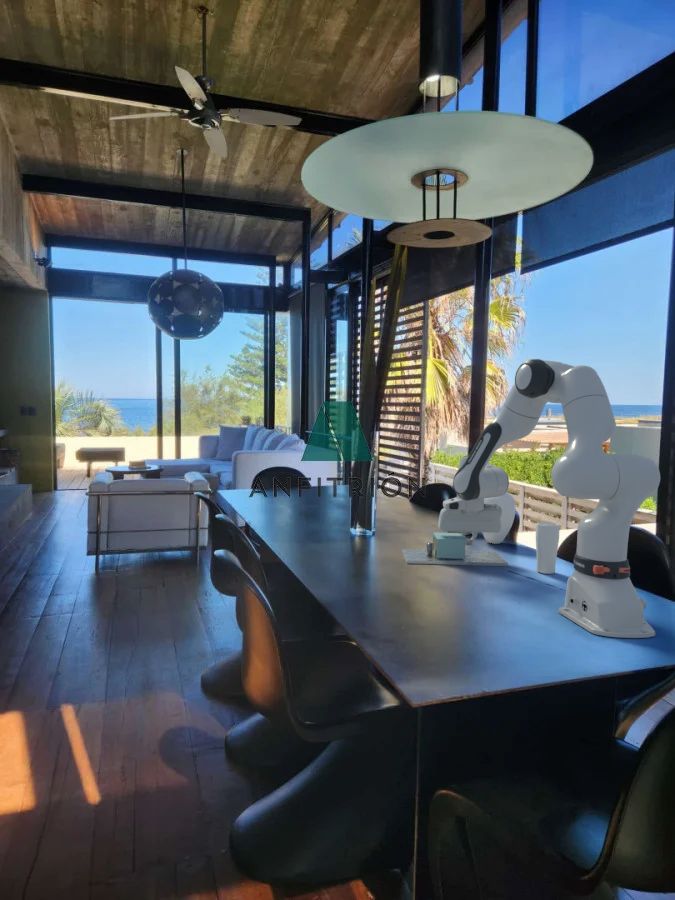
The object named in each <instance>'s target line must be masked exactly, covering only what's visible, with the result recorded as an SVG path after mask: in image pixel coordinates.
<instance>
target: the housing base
mask: <svg viewBox="0 0 675 900" xmlns="http://www.w3.org/2000/svg"><path fill="white" fill-rule="evenodd" d="M401 552H402V555H403V558H404V560H405V562H406V564H408V565H409V564H411V565H412V564H415V565H416V564H417V565H447V566H448V565H450V566H483V567H484V566H485V567H486V566H487V567H489V566H490V567H508V565H509V563H508V562H507V561H506V560H505V558H503V557H502V556H501V555H500V554H499V553H498V552H497V551H496V550H495V551H493V550H491V551H490V550H488V551H487V550H465V559H454V558H437V557H435V555H434V551H433V542H426V549H425V548H424V549H423V548H422V549H420V548H419V549H417V548H401Z"/></svg>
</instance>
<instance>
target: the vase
mask: <svg viewBox="0 0 675 900" xmlns="http://www.w3.org/2000/svg"><path fill="white" fill-rule="evenodd" d="M502 469H503V470H504V471H505V469H504V468H502ZM484 504H491V505H493V504H496V505H498V506H500V507H501V509H502V515H501V517H500V520H501V530H500V532H499V533H487V532H481V533H482V535H483V537H484V539H485V541H486V542H487V543H489V544H491V543H492V545H499V544H501V543H503V541H504V540H505V538H506V537H507V535H508V533H509V532H510V530H511V528H512V526H513V524H514V520H515V515H516V500H515V497H514V496H513V495H512V494H510V493H509V492H508V490H507V491H506V493H505V494H504V495H502V496H499V497H490V498H484ZM490 508H493V507H490ZM497 508H499V507H497Z"/></svg>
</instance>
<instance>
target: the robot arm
mask: <svg viewBox="0 0 675 900" xmlns="http://www.w3.org/2000/svg"><path fill="white" fill-rule="evenodd" d="M548 403H552V404H561V408H562V413H563V417H564V421H565V426H566V430H567V437H568V439H567V445H566V449H565V451H564V453H563V454H562V455H561V456H560V457H559V458H558V459H557V460H555V462H554V463H553V466H552V469H551V472H550V473H551V475H550V478H551V483H552V486H553V488H554V489H555V490H556V492H557V493H558V494H559V495H561V496H563V497H566V498H571V499H576V500H598V503H597V505H596V506H595V509H594V510H593V511H592V512H590V513H589V514H587V515H586V516H584V517H582V518H581V519H580V521H579V523H578V525H577V538H576V539H577V540H576V552H575V554H574V557H573V568H574V571H573V573H572V574H571V575H570V576H569V577H568V579H567V583H566V590H565V597H564V598H565V599H564V606H563V605H562V606H560V607H559V608H558V613H559V614H560V615H562V616H564V617H565V618H567V619H568V620H570V621H572V622H573V623H576V625H579V627H581V628H582V629H583V628H584V629H585V630H586V631H587V632H590V633H591V634H594V635H598V636H604V637H611V638H622V639H623V638H625V639H642V638H644V639H645V638H651V637H652V638H653V637H655V636H656V631H655V630H654V628H653V627H652V626H651V625H650V624H649V623H648V622H647V621H648V620H646V619H645V617H644V613H645V612H644V610H645V609H647V601H646V599H645V598H640V597H639V595H638V589H636V588H635V586H634V584H633V583H632V580H631V578H630V577H631V571H630V570H631V566H630V564H629V559H628V558H627V557H628V545H629V544H628V543H629V535H630V534H629V533H630V528H631V526H632V522H633V519H634V517H635V515H636V513H637V511H638V510H639V508H640V507H641V505H642V504H643V503H644V502H645V501H646V500H647V499H648V498H650V497H651V496H652V495H654V494H655V493H656V491H657V490H658V488H659V486H660V483H661V473H660V469H659V467H658V465H657V463H656V462H655V461H654V460H653V459H652V458H650V457H645V456H641V455H638V454H632V453H606V452H605V451H604V448H603V444H604V443H606V442H608V441H609V440H610V439H611V438H612V437H613V436H614V434H615V432H616V428H617V423H616V418H615V416H614V413H613V409H612V406H611V403H610V400H609V396H608V393H607V391H606V388H605V385H604V383H603V381H602V379H601V378H600V376H599V374H598V372H597V371H596V370H595V369H594V368H593V367H590V366H587V365H576V366H574V365H571V364H569V363H568V364H567V363H563V362H562V361H561V362H560V361H555V360H554V361H553V360H544V359H543V360H542V359H540V358H533V359H527V360H525V361H523V362H522V363H521V364H520V365H519V366H518V368H517V370H516V372H515V375H514V384H513V385H512V386H511V388H510V390H509V392H508V394H507V396H506V398H505V400H504V402H503V405H502V406H501V409H500V410H499V412H498V413H497V415H496V416H495V418H493V420H492V421H491V422H490V423H488V425H487V426H485V428H483V431H482V432H481V434H480V435H479V437H478V438H477V441H476V442H475V443H474V446H473V447H472V450H471V451H470V452H469V454H468V455H464V456H462V457H461V458H460V460H459V463H458V469H457V471H456V473H455V474H454V476H453V480H452V486H453V490H454V492H455V493H456V496H455V497H453V498H449V499H445V500H443V502H442V506H443V508H442V509H441V510H440V512H439V517H438V523H437V524H438V525H437V526H438V529H439V530H440V531H441V532H448V531H452V532H461V535H462V536H463V537H464V538H465V539H466V542H465V546H474V541H475V540H476V538H477V536H478V533H482V532H487V533H499V532H500V530H501V520H500V517H501V515H502V509H501V507H500V506H498V505H496V504H493V505H491V504H484V498H490V497H499V496H502V495H504V494H505V493H506V491H507V492H508V489H509V485H510V480H509V477H508V474H507V472H506V471H505V469H504V468H502V467H498V466H495V465H494V464H491V463H490V460H491V458H492V457H493V455H494V453H495V452H496V451H497V450H499V449H500V448H502V447H503V446H505V445H508V444H510V443H512V442H514V441H517V440H518V441H519V440H521V439H524V438H526V437H527V436H530V434H531V433H532V432H533V430H534V429H535V428H536V426H537V425H538V423H539V420H540V418H541V416H542V413H543V411H544V408H545V406H546V404H548ZM503 469H504V470H503ZM490 507H493V508H490ZM497 507H499V508H497ZM466 532H472V535H471V537H470V539H468V538H467V537H466V536H467V535H466Z"/></svg>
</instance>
